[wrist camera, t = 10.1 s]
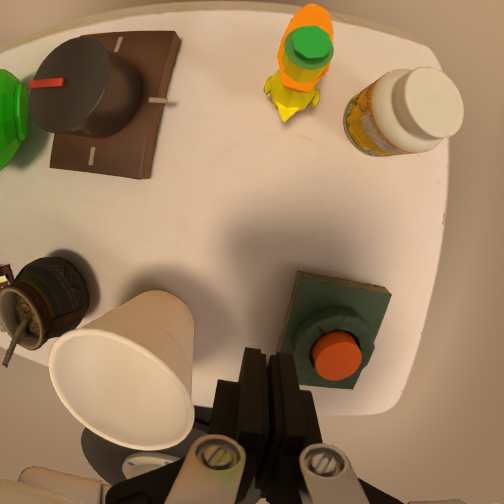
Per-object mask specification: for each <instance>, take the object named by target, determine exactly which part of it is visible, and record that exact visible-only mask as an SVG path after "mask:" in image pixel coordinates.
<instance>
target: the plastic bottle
mask: <svg viewBox="0 0 504 504" xmlns="http://www.w3.org/2000/svg"><path fill="white" fill-rule="evenodd" d="M27 134H28V104H27V92H26V88H25V84H24V83H21V84H20V81H19V79H17V78H16V77H15V76H14V75H13V74H12V73H10V72H8V71H6V70H3V69H0V170H1V169H3V168H4V167H5V166H7V164H8V163H9V162H10V161H11V159H12V158H13V156H14V155H15V153H16V151H17V150H18V148H19V147H20V145H21V143H22V141H23V140H25V139H26V137H27Z"/></svg>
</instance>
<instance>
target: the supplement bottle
mask: <svg viewBox="0 0 504 504" xmlns="http://www.w3.org/2000/svg"><path fill="white" fill-rule="evenodd" d="M463 115H464V109H463V102H462V98H461V96H460V93H459V91H458V89H457V88H456V86H455V84H454V83H453V82H452V81H451V80H450V79H449V77H447V76H446V75H445V74H444V73H443V72H441V71H439V70H437V69H435V68H431V67H420V68H417V69H415V70H408V69H397V70H393V71H390V72H388V73H386V74H384V75H383V76H382V77H380V78H379V79H378V80H376V81H375V82H374V83H372V84H371V85H369V86H368V87H367V88H365V89H364V90H363V91H361V92H360V93H359V94H357V95H356V96H355V97H354V98H352V100H351V101H350V102H349V104H348V106H347V108H346V111H345V115H344V127H345V131H346V133H347V135H348V137H349V139H350V140H351V142H352V143H353V144H354V145H355V146H356V147H357V148H358V149H359V150H361V151H362V152H364V153H366V154H369V155H372V156H392V155H401V154H413V153H422V152H426V151H429V150H431V149H433V148H434V147H436V146H437V145H438V144H439V143H440V142H441V141H442V139H443V138H447V137H450V136H452V135H454V134H455V133H456V132H457V131H458V130H459V128H460V126H461V124H462V121H463Z"/></svg>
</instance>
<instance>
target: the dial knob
mask: <svg viewBox="0 0 504 504" xmlns="http://www.w3.org/2000/svg"><path fill="white" fill-rule="evenodd" d="M29 89H31V90H30V110H31V114H32V117H33V119H34V121H35V122H36V123H37V125H38V126H39V127H40V128H42V129H43V130H45V131H47V132H50V133H58V134H66V135H74V136H81V137H88V138H105V137H108V136H111V135H113V134H115V133H117V132H118V131H120V130H121V129H122V128H123V127H124V126H125V125H127V123H128V122H129V121H130V120H131V119H132V117H133V116H134V114H135V112H136V110H137V108H138V106H139V103H140V100H141V94H142V84H141V79H140V76H139V74H138V72H137V70H136V69H135V68H134V67H133V66H132V65H131V64H129V63H128V62H127V61H126V60H124V59H123V58H122V57H120V56H119V55H118V54H116V53H115V52H114V51H112V50H111V49H110V48H108V47H107V46H105V45H104V44H103V43H101V42H100V41H98V40H97V39H95V38H91V37H77V38H73V39H70V40H68V41H66V42H64V43H62V44H61V45H59V46H58V47H57V48H55V49H54V50H53V51H52V52H51V53H50V54H49V55H48V56H47V57H46V58H45V60H44V61H43V62H42V64H41V65H40V67H39V69H38V71H37V73H36V75H35V77H34V79H33V81H30V84H29Z"/></svg>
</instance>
